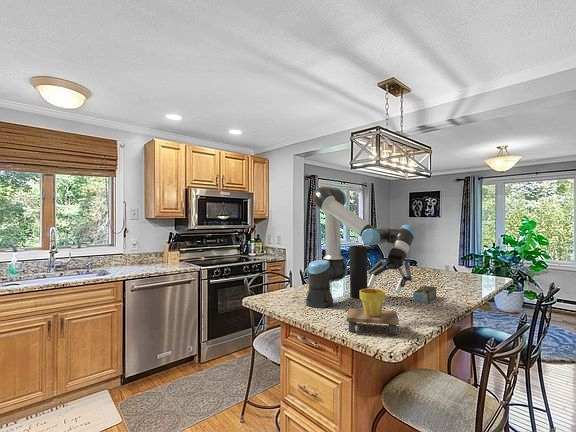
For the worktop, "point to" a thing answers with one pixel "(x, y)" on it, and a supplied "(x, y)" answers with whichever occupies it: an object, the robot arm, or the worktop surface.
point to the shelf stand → (372, 319)
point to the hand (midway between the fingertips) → (382, 289)
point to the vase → (358, 270)
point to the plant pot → (372, 301)
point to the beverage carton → (424, 294)
